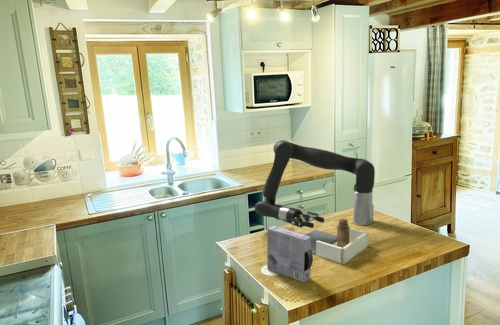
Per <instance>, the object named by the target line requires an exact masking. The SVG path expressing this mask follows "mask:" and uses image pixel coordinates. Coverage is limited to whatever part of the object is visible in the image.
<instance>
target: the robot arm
mask: <svg viewBox="0 0 500 325" xmlns="http://www.w3.org/2000/svg"><path fill="white" fill-rule="evenodd" d="M272 150H273V153H274V158H273V159H274V160H273V164H272V167H271V170H270V172H269V174H268V176H267V178H266V181H265V183H264V186H263V190H262V196H263V197H264V198H265V200H264V201H263V200H261V201H258V202H257V203H255V205H254V211H255V213H256V214H257V215H259V216H262V217H268V218H274V219H276V220H279V221H283V222H284V223H288V224H291V226H295V227H298V228H303V227H304V228H310V229H314V228H315V224H314V223H313V222H314V221H315V222H320V223H322V224H323V223H325V218H324V217H321V216H319V213H315V212H312V211H307V213H305V212H304V213H303V212H302V210H301V209H298V208H295V207H291V206H285V205H281V204H276V200H277V199H276V196H277V193H278V190H279V187H280V184H281V180H282V177H283V174H284V172H285V169H286V168H287V165H288V163H289V161H290V160H291V159H293V160H296V161H297V160H298V161H301V162H303V163H304V164H305V163H306V164H307V165H309V166H313V167H315V168H319V169H324V170H327V171H328V170H330V171H332V170H333V171H335V170H336V171H337V170H338V171H345V172H348V173H351V174H353V175H355V184H354V186H353V212H352V213H353V219H352V220H353V223H354V224H355V225H359V226H370V225H371V224H372V223H374V212H375V211H374V207H375V206H374V204H373V190H374V189H373V188H374V186H375V179H376V178H375V174H376V170H375V166H374V164H373V163H372V162H371V161H369V160H368V159H364V158H358V157H357V158H356V157H349V156H346V155H342V154H340V153H336V152H332V151H330V150H329V151H328V150H324V149H320V148H316V147H311V146H310V147H308V146H303V145H299V144H297V143H296V144H295V143H293V142H290V141H288V140H285V139H283V140H278V141H276V142H275V144H273V149H272Z"/></svg>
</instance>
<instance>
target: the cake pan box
mask: <svg viewBox="0 0 500 325" xmlns="http://www.w3.org/2000/svg"><path fill="white" fill-rule="evenodd" d="M266 234H267V241H266V242H267V248H266V249H267V254H266V255H267V268H266V269H267V270H270V271H273V272H276V273H277V274H280V275H282V276H284V277H287V278H291V279H294V280H296V281H298V282H300V283H303V284H304V283H306V282H307V281H309V280H310V279H311V268H312V266H313V262H314V261H313V260H314V257H313V256H314V255H313V254H312V251H311V237H309V236H306V234H302V233H298V232H296V231H292V230H290V229H287V228H282V227H279V226H276V225H273V226H270V227H267V233H266Z"/></svg>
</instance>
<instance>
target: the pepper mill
mask: <svg viewBox="0 0 500 325" xmlns="http://www.w3.org/2000/svg"><path fill="white" fill-rule="evenodd" d="M348 221H349V220H348V219H346V218H339V219H338V225H337V226H336V236H337V240H336V242H337V246H338V247H341V248H343V247H345V246H346V245H347V244H349V231H350V228H351V227H350V226H349V223H348Z"/></svg>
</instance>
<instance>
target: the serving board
mask: <svg viewBox="0 0 500 325" xmlns="http://www.w3.org/2000/svg"><path fill="white" fill-rule="evenodd" d="M305 235H306V236H309V237H311V251H312V255H313V256H314V255H316V241H317V240H318V241H321V242H325V243H328V244H331V245H332V244H334V243H335V242H337V234H332V233H328V232H325V231H322V230H318V229H314V230H311V231H310V232H308V233H306V234H305Z"/></svg>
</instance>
